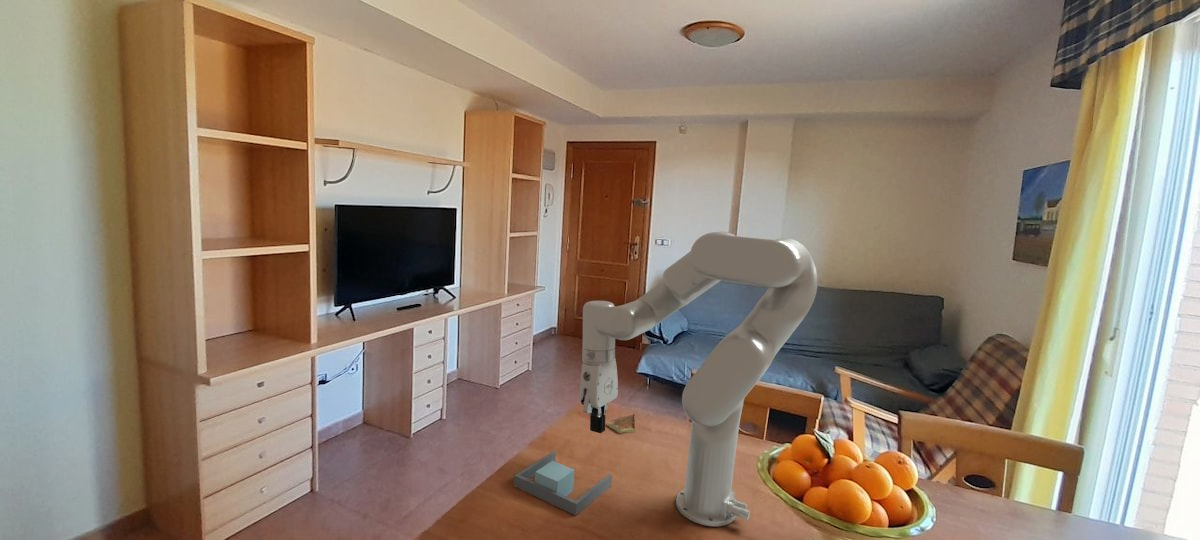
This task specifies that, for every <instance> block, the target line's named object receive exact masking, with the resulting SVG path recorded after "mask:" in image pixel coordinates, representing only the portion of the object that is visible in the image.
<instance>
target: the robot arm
mask: <svg viewBox="0 0 1200 540" xmlns="http://www.w3.org/2000/svg"><path fill="white" fill-rule="evenodd" d="M818 280H819V279H818V271H817V267H816V265H815V262H814V259H813V257H812V256H811V253H810V252H809V250H808V249H807V248H806V247H805V245H803V244H802V243H801V242H799V241H797V240H795V239H792V238H789V237H788V238H787V237H785V238H783V237H782V238H776V239H767V238H766V239H765V238H755V237H744V236H739V235H738V236H737V235H735V234H733V233H732V232H728V231H715V232H709V233H706V234H705V233H704V234H703V235H701V236H699V237H698V238H697V239H696V240H695V241H694V243H693V244H692V246H691V249H690V251H688V252H687V253H686V254H685V255H683V256H682V257H681V258H680V259H678V260H676V261H675V262H674V263H673V264H670V265H669V266H668V267H666V269H665V270H664V271H663V274H662V278H661V279H660V281H659V282H658V283H657V284H656V285H655V286H653V288H651V289H649V290H648V291H647V292H646V293H644V294H643V295H641V296H640V297H638V298H637V299H635V300H634V301H630V302H628V303H624V304H622V305H617V306H615V304H614V303H613V302H611V301H607V300H591V301H587V302H585V303H584V305H583V307H582V353H581V355H582V357H581V359H582V365H581V371H580V372H581V373H580V382H579V402H580V404H581V405H583V409H582V412H583V413H585V414H588V415H589V419H590V421H589V427H590V428H589V429H590V431H591V432H594V433H597V434H602V433H603V432H605V431H606V414H607V412H608V406H609V404H610V403H611V402H612V401H615V400H616V399H617V397H618V395H619V394H618V393H619V383H618V382H619V381H618V380H619V379H618V377H619V376H618V367H617V361H616V360H617V359H616V340H619V341H628V340H631V339H634V338H636V337H638V336H640V335H642V334H644V333H646V332H648V331H650V330H652V329H653V328H654V327H656V326H657V325H659V324H661V322H663V321H665V320H666V319H667V318H669V317H670V316H671V315H673V314H674V313H676V312H677V311H679V310H680V309H681V308H683V307H686V306H687V305H688V304H690V303H691V302H692V301H694V300H695V299H697V298H699V296H701V295H702V294H703V293H705V292H707V291H708V290H710V289H711V288H712V287H714V286H715V285H716V284H718V283H720V282H721V281H722V282H727V283H729V282H730V283H734V284H743V285H749V286H755V287H761V288H767V289H766V290H765V292H764V294H763V295H762V296H761V297H760V299H759V300H758V301H757V303H756V304H755V306H754V307H753V309H751V311H750V313H748V315H747V316H746V317H745V318H744V320H743V321H742V322H741V323H740V324H739V325H738V326H737V327H736V328H735V329H733V330H732V331H730V333H728V334H727V335H725V336H724V338H722V339H721V340H720V341H719V343H718V344H716V345H715V347H714V348H713V350H711V352H710V354H708V355H707V357H706V359H705V360H704V361H703V363H702V364H700V366H699V367H698V369H697V370H696V372H695V373H694V374H693V375H692V376H691V378H690V379H689V380H688V382H687V383H686V385H685V386H684V389H683V391H682V396H681V403H682V408H683V411H684V413H685V415H686V417H688V419H689V420H690V421H691V425H690V426H691V428H690V435H689V447H688V452H687V453H688V455H687V465H686V472H685V473H686V474H685V475H686V476H685V484H684V488H683V489H682V490H680V491H679V492H678V493H677V495H676V499H675V506H676V508H677V510H678V511H679V512H680V514H681V515H682V516H683V517H684V518H686V519H688V520H690V521H692V523H696V524H699V525H702V526H708V527H722V526H726V525H727V526H728V525H729V524H732V523H733V522H734V521H735V519H736V518H737V517H738V518H740V519H742V520H745V521H748V522H749V519H750V515H751V510H749V509H748V503H745V502H743V501H739V500H737V498H735V496H736V491H735V490H734V489H732V488H733V487H732V486H733V478H734V471H735V462H736V456H737V454H736V453H737V445H738V438H739V437H738V436H739V429H740V423H741V417H742V411H743V407H744V403H745V402H744V401H745V398H746V397H747V395H748V394H749V393H750V392H751V391H752V389H753V388H754V387H755V386H756V384H757V383H758V382H759V381H760V380H761V379H762V377H763V376H764V375H765V373H766V372H767V370H768V369H769V368H770V366H771V364H772V362H773V361H774V359H775V357H776V356H777V354H778V352H779V351H780V350H781V349H782V347H784V345H785V343H786V342H787V341H788V340H789V339H790V337H792V335H793V333H794V332H795V330H797V328H798V327H799V325H800V324H801V323H802V322H803V320H804V319H805V318H806V316H807V315H808V313H809V311H810V309H811V308H812V306H813V303H814V302H815V298H816V295H817V290H818V283H819V281H818Z"/></svg>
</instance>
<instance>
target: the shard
mask: <svg viewBox="0 0 1200 540" xmlns="http://www.w3.org/2000/svg"><path fill="white" fill-rule="evenodd" d="M635 418H636V417H635V413H633V414H630V415H628V416H627V415H626V416H622V417H619V418H615V419H612V420H609V421H607V423H606V427H608V426H609V427H608V428H610V429H612V430H614V431H615V432H617V433H618V434H622V433H623V434H624V433H635V432H636V419H635Z"/></svg>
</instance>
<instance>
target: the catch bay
mask: <svg viewBox="0 0 1200 540" xmlns="http://www.w3.org/2000/svg"><path fill="white" fill-rule="evenodd" d="M556 458H557V452H556V451H554V450H553V451H551V452H550V453H548V454H546V455H545V456H543V457H541V458H540V459H539V460H537V461H535V462H533V463H532V464H530V465H529V466H527V467H526V468H524V469H522V470H521V471H519V472H517V473H516V474H514V477H513V487H515V488H517V489H519V490H522V491H523V492H526V493H527V494H530V495H532V496H534V497H536V498H537V499H539V500H540V499H541V500H542V501H545V502H546V503H548V504H550V505H553V506H555V507H557V508H559V509H561V510H562V511H565V512H568V513H569V514H571V515H574V516H577V515H579V514H580V513H581V512H582V511H583V510H584V509H586V508H587V507H588V506H589V505H590V504H592V502H594V501H595V500H596V499H597V498H599V496H601V495H602V494H603V493H605V492H606V491H607V490H608V489H609V488H610V487H611V486H612V479H613V475H612V474H610V473H609V474H607V475H606V476H605V477H604V478H602V479H601V480H600V481H598V483H595V485H593V486H592V487H591V488H590V489H589V490H587V491H586V492H585V493H583V494H582V495H581V496H580V497H578V498H577V499H576V500H574V499H573V498H570V497H569V496H564V495H562V494H560V493H557V492H555V491H553V490H551V489H549V488H547V487H544V486H542V485H540V484H538V483H536V482H535V480H534V481H533V480H531V478H534V477H535V472H536V471H537V470H539V469H541V468H542V467H544V466H545V465H547V464H548V463H550V462H551V461H555V462H556Z"/></svg>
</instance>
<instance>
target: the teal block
mask: <svg viewBox="0 0 1200 540" xmlns="http://www.w3.org/2000/svg"><path fill="white" fill-rule="evenodd" d="M534 482H536V483H538V484H540V485H542V486H544V487H547V488H549V489H551V490H553V491H555V492H557V493H560V494H562V495H564V496H566V497H568V495H570V494H571V493H572V492H573V491H574V485H575V484H574V482H575V469H574V468H571V467H568V466H566V465H564V464H561V463H559V462H557V461H556V460H555V461H551V462H550V463H548V464H547V465H545V466H544V467H542V468H541V469H539V470H537V471H536V472H535V476H534Z"/></svg>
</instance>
